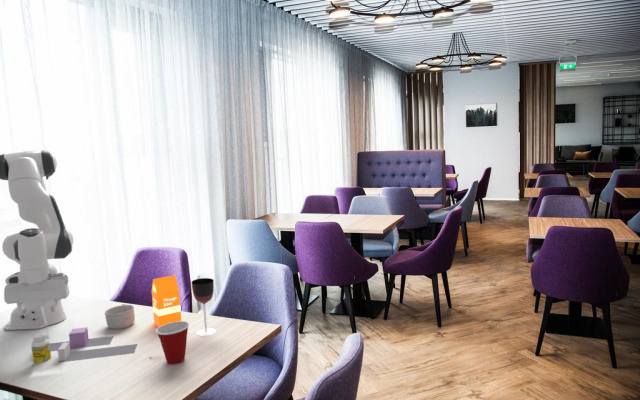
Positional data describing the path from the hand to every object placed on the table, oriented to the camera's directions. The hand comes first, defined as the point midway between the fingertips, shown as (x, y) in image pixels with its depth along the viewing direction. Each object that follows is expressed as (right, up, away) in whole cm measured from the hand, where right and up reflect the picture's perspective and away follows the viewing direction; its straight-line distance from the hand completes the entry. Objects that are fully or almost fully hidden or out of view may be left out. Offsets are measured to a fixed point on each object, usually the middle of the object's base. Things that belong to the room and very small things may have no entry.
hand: (39, 312), depth 175 cm
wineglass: (+56, -11, +13) cm, 59 cm away
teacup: (+20, -11, +23) cm, 33 cm away
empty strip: (+24, -14, -5) cm, 28 cm away
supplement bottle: (+6, -15, -8) cm, 18 cm away
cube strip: (+11, -14, +4) cm, 18 cm away
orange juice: (+39, -10, +22) cm, 46 cm away
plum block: (+12, -12, +4) cm, 18 cm away
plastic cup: (+52, -14, -11) cm, 54 cm away
